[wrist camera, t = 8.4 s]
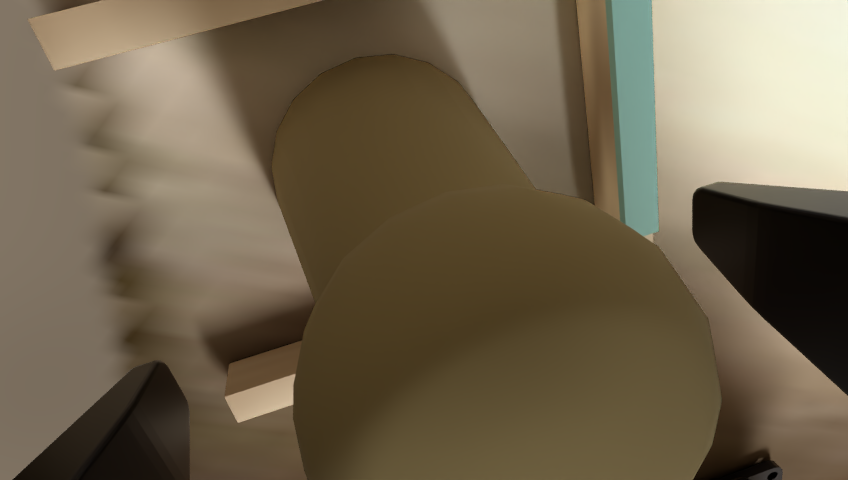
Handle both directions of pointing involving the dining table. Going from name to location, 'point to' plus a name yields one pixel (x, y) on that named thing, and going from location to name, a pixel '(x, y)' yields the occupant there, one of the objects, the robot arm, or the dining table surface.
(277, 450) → the dining table surface
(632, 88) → the notch rack
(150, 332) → the dining table surface
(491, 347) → the cork
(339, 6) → the dining table surface
